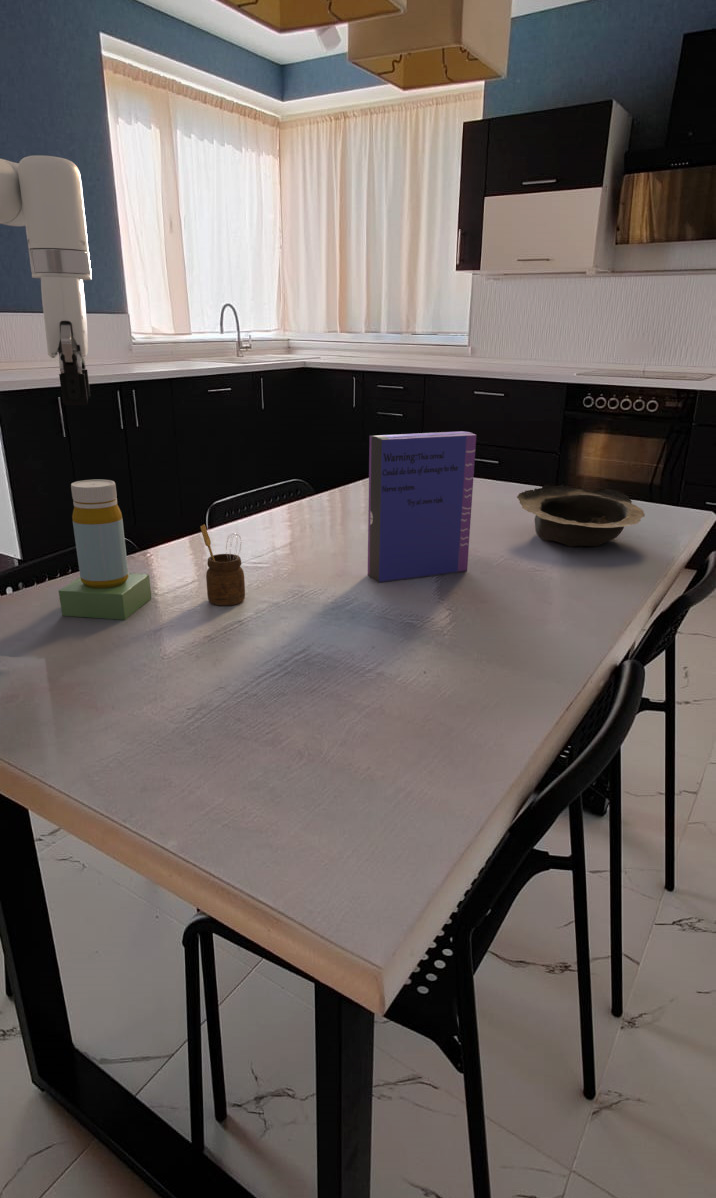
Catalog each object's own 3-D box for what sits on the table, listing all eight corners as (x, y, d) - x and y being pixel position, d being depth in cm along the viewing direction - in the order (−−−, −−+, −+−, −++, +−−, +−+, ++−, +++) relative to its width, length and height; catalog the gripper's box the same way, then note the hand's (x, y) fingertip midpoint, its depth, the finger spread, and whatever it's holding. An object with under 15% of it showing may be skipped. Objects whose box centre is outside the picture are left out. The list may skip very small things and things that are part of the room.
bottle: (124, 573, 122) (113, 477, 116) (133, 585, 116) (122, 485, 110) (78, 578, 119) (64, 481, 113) (85, 591, 113) (71, 489, 107)
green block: (62, 615, 115) (58, 590, 114) (92, 594, 124) (89, 570, 123) (125, 620, 114) (122, 594, 112) (151, 598, 123) (149, 574, 122)
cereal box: (453, 564, 142) (461, 430, 132) (467, 571, 138) (476, 433, 128) (367, 574, 136) (369, 434, 126) (378, 582, 131) (381, 438, 122)
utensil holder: (238, 608, 119) (234, 532, 114) (200, 605, 120) (194, 529, 116) (250, 596, 125) (247, 523, 120) (214, 593, 126) (209, 520, 121)
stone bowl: (554, 517, 176) (561, 476, 172) (657, 546, 161) (668, 502, 157) (491, 534, 160) (498, 490, 156) (600, 568, 144) (611, 520, 140)
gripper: (37, 269, 109) (54, 396, 116) (23, 261, 94) (43, 408, 101) (92, 271, 111) (106, 396, 118) (88, 264, 96) (103, 407, 103)
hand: (77, 401), depth 109 cm, fingers open, 9 cm apart
